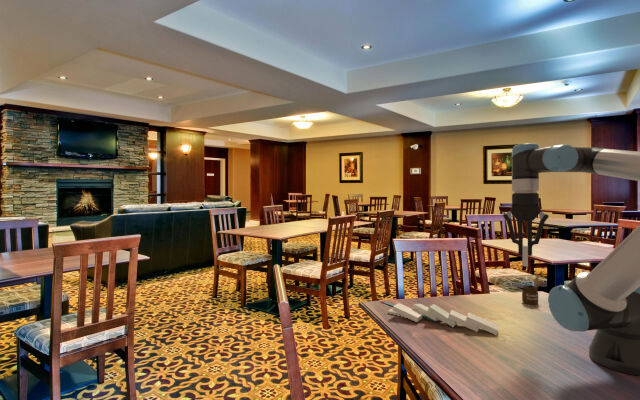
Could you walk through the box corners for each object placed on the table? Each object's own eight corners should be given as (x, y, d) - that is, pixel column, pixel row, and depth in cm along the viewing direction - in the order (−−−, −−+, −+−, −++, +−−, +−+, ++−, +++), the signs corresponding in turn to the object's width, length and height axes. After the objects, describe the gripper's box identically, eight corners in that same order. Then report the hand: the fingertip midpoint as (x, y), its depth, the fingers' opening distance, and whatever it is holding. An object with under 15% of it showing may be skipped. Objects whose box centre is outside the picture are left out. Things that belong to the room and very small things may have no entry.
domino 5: (480, 322, 123) (451, 309, 127) (479, 327, 118) (449, 313, 123) (478, 327, 123) (449, 314, 127) (477, 332, 119) (447, 318, 123)
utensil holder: (519, 300, 153) (519, 273, 152) (533, 300, 152) (533, 273, 152) (527, 305, 147) (527, 276, 146) (542, 305, 147) (542, 276, 146)
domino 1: (417, 312, 134) (394, 307, 141) (411, 316, 131) (387, 310, 137) (417, 317, 135) (394, 311, 141) (411, 321, 131) (387, 315, 137)
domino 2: (423, 314, 130) (399, 303, 136) (417, 317, 126) (393, 306, 132) (422, 318, 131) (398, 307, 137) (416, 322, 127) (392, 310, 133)
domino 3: (443, 315, 129) (420, 303, 137) (436, 315, 126) (413, 304, 134) (442, 319, 129) (419, 308, 137) (435, 320, 126) (412, 308, 134)
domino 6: (498, 325, 120) (468, 312, 124) (498, 330, 115) (466, 316, 120) (496, 330, 120) (466, 316, 125) (496, 335, 116) (465, 321, 120)
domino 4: (459, 319, 126) (433, 303, 131) (455, 323, 122) (429, 306, 127) (456, 323, 126) (431, 307, 131) (453, 327, 122) (427, 310, 127)
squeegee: (452, 313, 133) (434, 319, 128) (452, 318, 133) (435, 323, 128) (396, 297, 157) (380, 300, 152) (396, 300, 157) (380, 304, 152)
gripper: (548, 192, 113) (548, 265, 113) (503, 192, 120) (503, 261, 120) (549, 192, 107) (549, 269, 107) (501, 192, 113) (501, 265, 114)
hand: (525, 265), depth 114 cm, fingers closed
